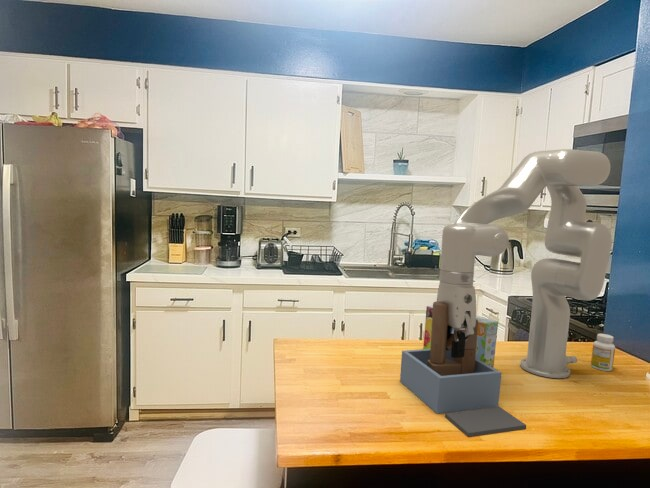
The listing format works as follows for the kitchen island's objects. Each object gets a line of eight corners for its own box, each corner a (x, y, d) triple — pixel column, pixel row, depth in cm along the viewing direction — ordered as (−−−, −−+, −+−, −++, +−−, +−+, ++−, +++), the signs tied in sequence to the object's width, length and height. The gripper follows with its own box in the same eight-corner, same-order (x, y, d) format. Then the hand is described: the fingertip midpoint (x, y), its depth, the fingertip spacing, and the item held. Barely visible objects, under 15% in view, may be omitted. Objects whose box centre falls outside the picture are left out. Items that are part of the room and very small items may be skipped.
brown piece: (474, 378, 103) (479, 304, 101) (432, 380, 101) (436, 304, 99) (467, 372, 106) (471, 300, 104) (425, 373, 104) (429, 301, 102)
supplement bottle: (599, 363, 129) (603, 332, 128) (617, 370, 124) (621, 338, 123) (586, 365, 128) (590, 333, 127) (603, 372, 122) (607, 339, 121)
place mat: (499, 410, 96) (499, 406, 96) (525, 428, 89) (526, 424, 88) (444, 416, 92) (445, 413, 92) (468, 436, 84) (468, 433, 84)
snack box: (494, 375, 116) (499, 321, 115) (481, 379, 113) (486, 323, 112) (434, 350, 134) (437, 303, 132) (421, 353, 130) (424, 304, 129)
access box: (454, 376, 114) (456, 347, 113) (498, 406, 98) (501, 372, 97) (399, 381, 109) (402, 350, 108) (436, 413, 93) (439, 378, 92)
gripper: (494, 284, 94) (488, 365, 96) (449, 271, 110) (445, 340, 112) (464, 285, 92) (459, 368, 94) (423, 271, 107) (419, 342, 109)
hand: (451, 352), depth 103 cm, fingers closed on brown piece, 4 cm apart
